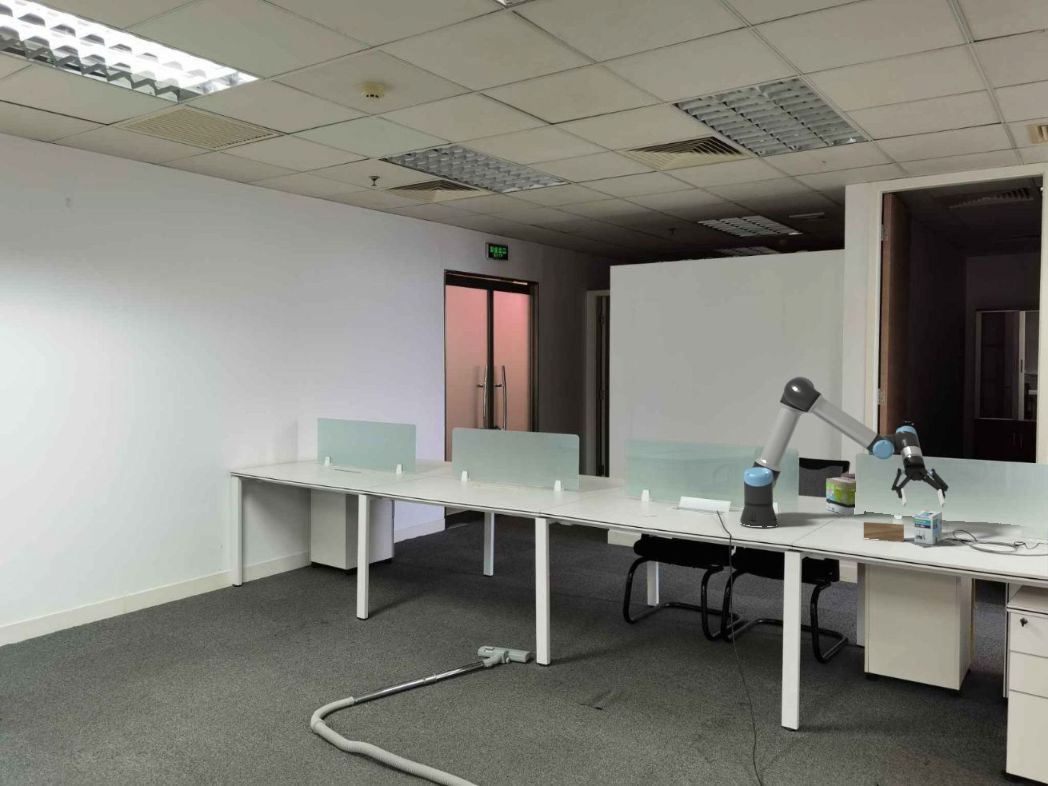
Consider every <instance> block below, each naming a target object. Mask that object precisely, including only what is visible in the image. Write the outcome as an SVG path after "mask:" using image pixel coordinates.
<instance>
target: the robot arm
mask: <svg viewBox="0 0 1048 786" xmlns="http://www.w3.org/2000/svg"><path fill="white" fill-rule="evenodd" d="M779 404H780V410H779V412H778V414H777V417H776V419H775V422H774V424H773V427H772V428H771V432H770V433H769V436H768V438H767V441H766V442H765V445H764V448H763V450H762V453H761V455H760V457H759V458H757V459H755V460H754V462H753V464H752V467H750V468H747V469H746V470H745V471H744V472H743V485H744V486H743V491H744V492H743V499H744V500H743V501H744V504H743V505H744V506H743V509H742V512H741V515H740V519H739V520H740V521H739V522H741V523H742V524H745V525H750V526H762V527H767V526H776V525H777V524H778V518H777V515H776V511H775V509H774V489H775V487H776V485H777V481H778V479H779V477H780V474H781V471H782V469H781V466H780V465H781V462H782V460H783V458H784V456H785V453H786V451H787V448H788V446H789V444H790V441H791V438H792V437H793V434H794V432H795V429H796V428H797V425H798V422H799V421H800V417H801V416H802V414H806V413H807V414H813V415H814V416H816V417H818V419H820V420H822V421H823V422H825V423H827V424H828V425H830V426H831V427H832V428H834V429H836V431H838V432H840V433H842V434H843V435H844V436H846V437H847V438H849V439H851V440H852V441H853V442H855V443H857V444H859V445H860V446H861V447H863V448H864V449H865V450H867V451H868V452H867V453H868V455H869V456H870V455H873V456H875V458H878V459H880V460H888V459H890V458H891V457H892V456H893V455H894V453H900V455H901V460H902V464H903V469H901V468H900V467H898V468H897V469H896V476H895V479H894V481H893V484H892V486H891V488H890V490H891V491H893V492H894V491H895V492H896V494H897V497H898V499H901V500H900V501H901V504H902V507H906V506H907V500H906V494H905V490H904V488H905V486H906V485H907V484H908V483H909V482H910V481H912V482H915V481H919V482H921V481H923V483H926V484H927V485H929V486H931V487H932V488H933V489H935V490H936V491H937V496H938V500H939V504H940V507H941V508H944V507H945V504H946V502H945V499H946V493H945V492H947V491H948V490H949V485H948V484H947V483H946V482H945V481H944V480H943V478H941V476H940V475H939V474H938V473H937V472H936V469H935V468H931V469H926V464H925V461H924V457H923V454H922V450H921V445H920V441H919V436H918V434H917V431H916V429H915V428H914V427H912V426H909V425H902V426H901V427H898V428H897V429H896V431H895V433H891V434H887V435H880V434H879V433H877V432H875V431H874V430H873V429H871V428H870V427H868V426H867V425H865V424H864V423H862V422H861V421H859V420H857V419H856V418H854V417H853V416H851V415H850V414H848V413H847V412H845V411H843V410H842V409H841V408H839V407H838V406H836V405H835V404H833V403H831V401H829V400H827V399H825V398H824V397H823V394H822V392H820V391H818V390H817V389H815V385H814V384H813V382H812V381H811V380H810V379H809V378H807V377H804V376H795V377H793V378H791V379H790V380H788V382H786V384H785V386H784V388H783V393H782V395H781V397H780V400H779ZM903 474H904V476H905V478H904V479H903V480H902V481H901V482H900V483H899V481H900V478H901V476H903ZM898 483H899V484H898ZM777 526H778V525H777ZM777 526H776V527H777Z"/></svg>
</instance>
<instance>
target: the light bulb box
mask: <svg viewBox="0 0 1048 786" xmlns="http://www.w3.org/2000/svg"><path fill="white" fill-rule="evenodd" d="M942 531H943V512H942V511H937V510H936V511H935V510H927V509H923V510H921V511H919V512H916V513H914V537H915V542H917V543H924V544H931V545H933V544H935V543H937V542H939V541H941V540H943V532H942Z"/></svg>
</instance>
